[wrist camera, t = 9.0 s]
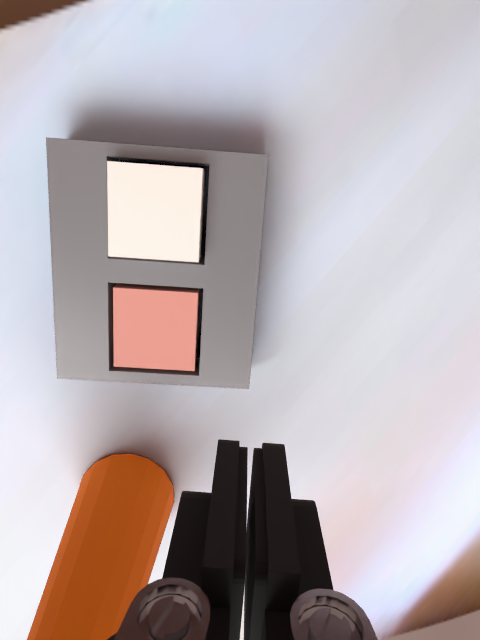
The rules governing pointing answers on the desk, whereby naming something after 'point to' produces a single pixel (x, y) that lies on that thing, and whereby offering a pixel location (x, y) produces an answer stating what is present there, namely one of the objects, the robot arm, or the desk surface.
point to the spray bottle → (105, 549)
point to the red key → (155, 326)
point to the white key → (155, 211)
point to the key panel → (153, 262)
